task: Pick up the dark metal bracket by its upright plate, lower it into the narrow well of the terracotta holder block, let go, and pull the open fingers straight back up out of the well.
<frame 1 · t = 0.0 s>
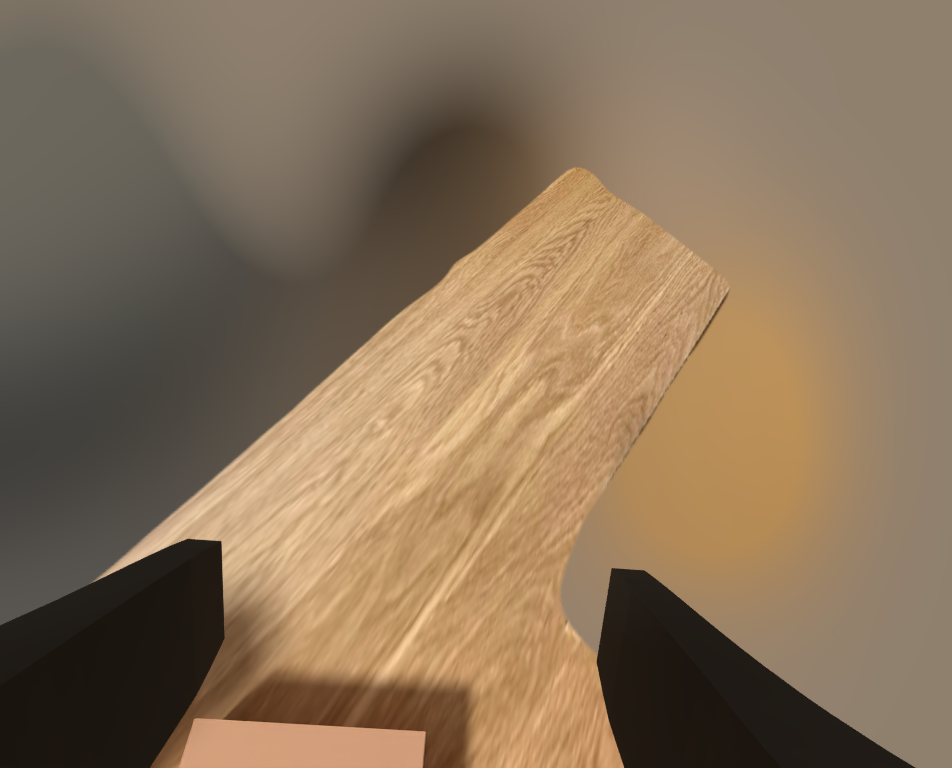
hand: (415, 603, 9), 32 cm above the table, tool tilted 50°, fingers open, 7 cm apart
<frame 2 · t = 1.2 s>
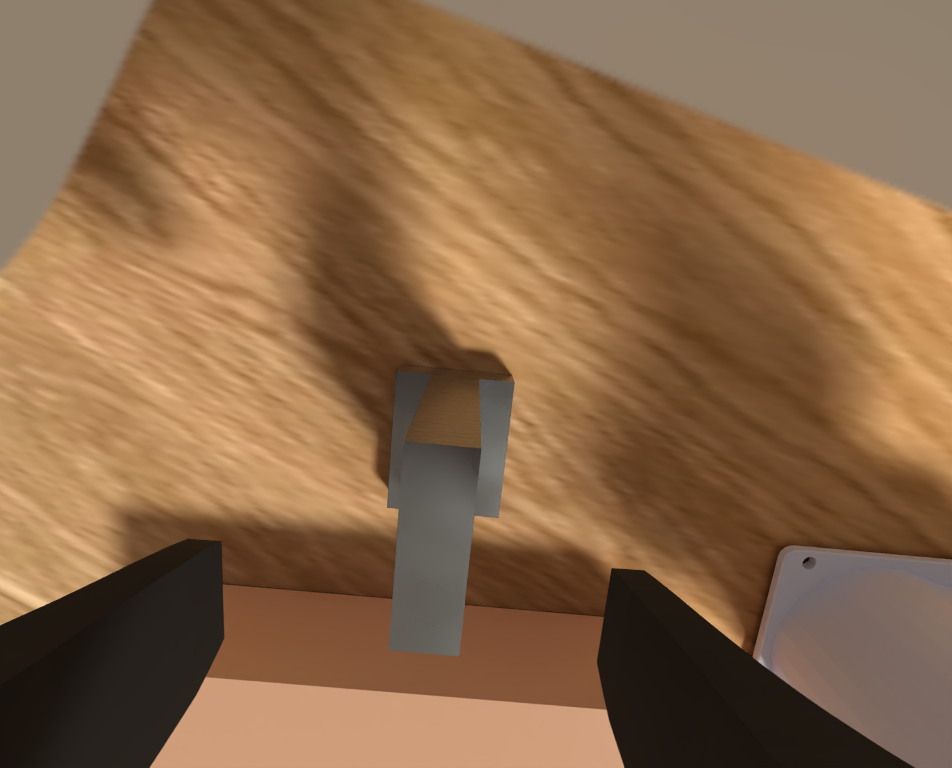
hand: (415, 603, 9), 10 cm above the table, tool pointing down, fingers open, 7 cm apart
bracket: (450, 435, 19), on the table
holder block: (410, 744, 22), on the table
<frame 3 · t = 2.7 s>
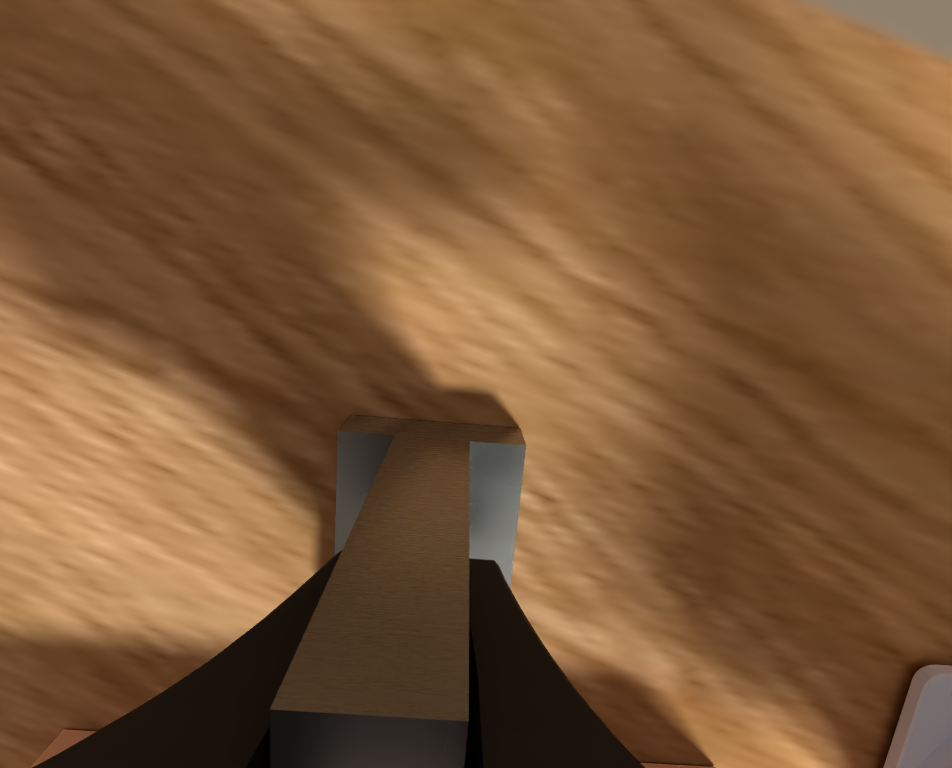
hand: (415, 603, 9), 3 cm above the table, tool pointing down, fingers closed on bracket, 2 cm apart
bracket: (429, 518, 12), on the table, touching gripper
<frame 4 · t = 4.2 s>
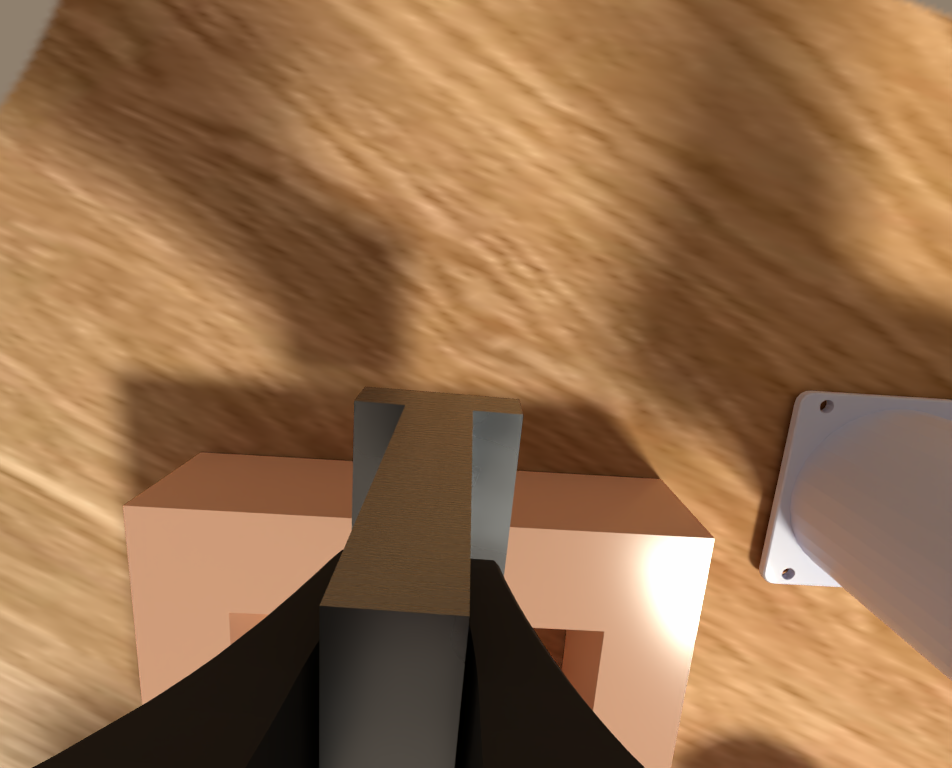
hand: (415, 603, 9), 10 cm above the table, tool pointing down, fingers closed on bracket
bracket: (436, 480, 14), point 6 cm above the table, touching gripper
holder block: (425, 621, 21), on the table
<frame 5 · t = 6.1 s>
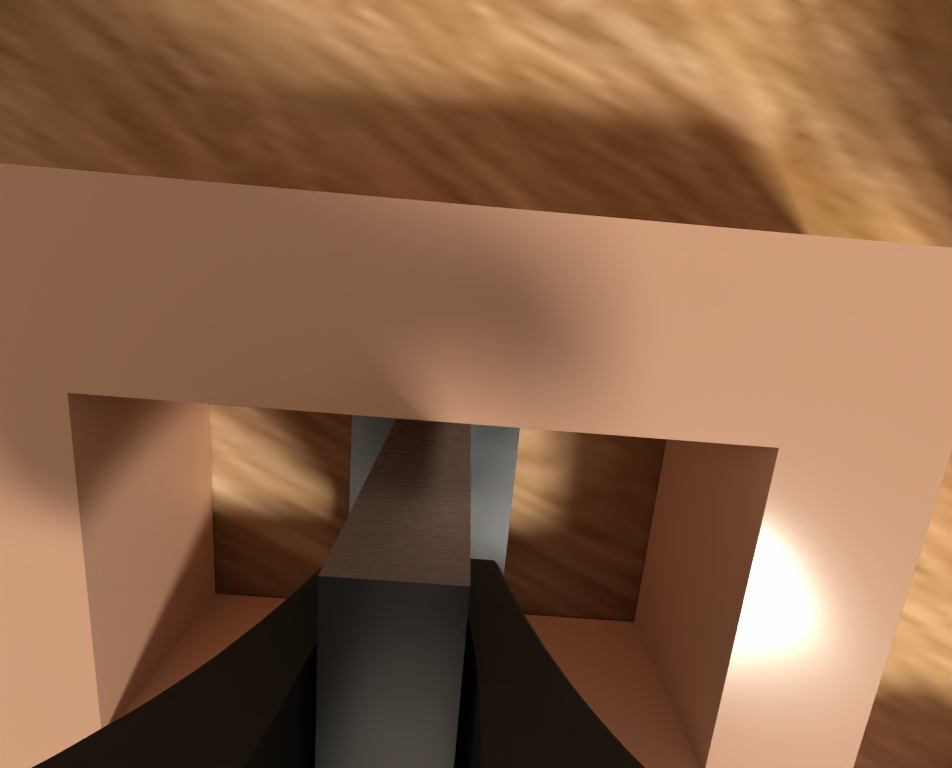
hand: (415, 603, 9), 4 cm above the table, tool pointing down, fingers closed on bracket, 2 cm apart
bracket: (434, 484, 14), resting in holder block, touching gripper
holder block: (435, 495, 14), on the table
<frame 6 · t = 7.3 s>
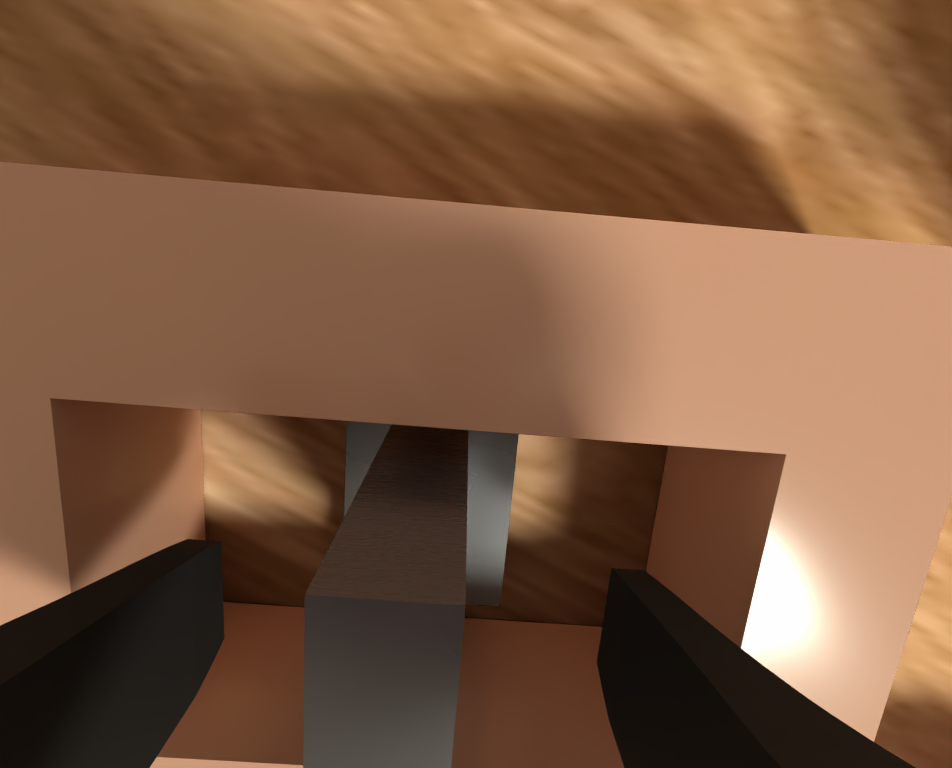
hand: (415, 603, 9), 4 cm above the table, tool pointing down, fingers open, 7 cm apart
bracket: (431, 489, 13), resting in holder block
holder block: (432, 500, 13), on the table
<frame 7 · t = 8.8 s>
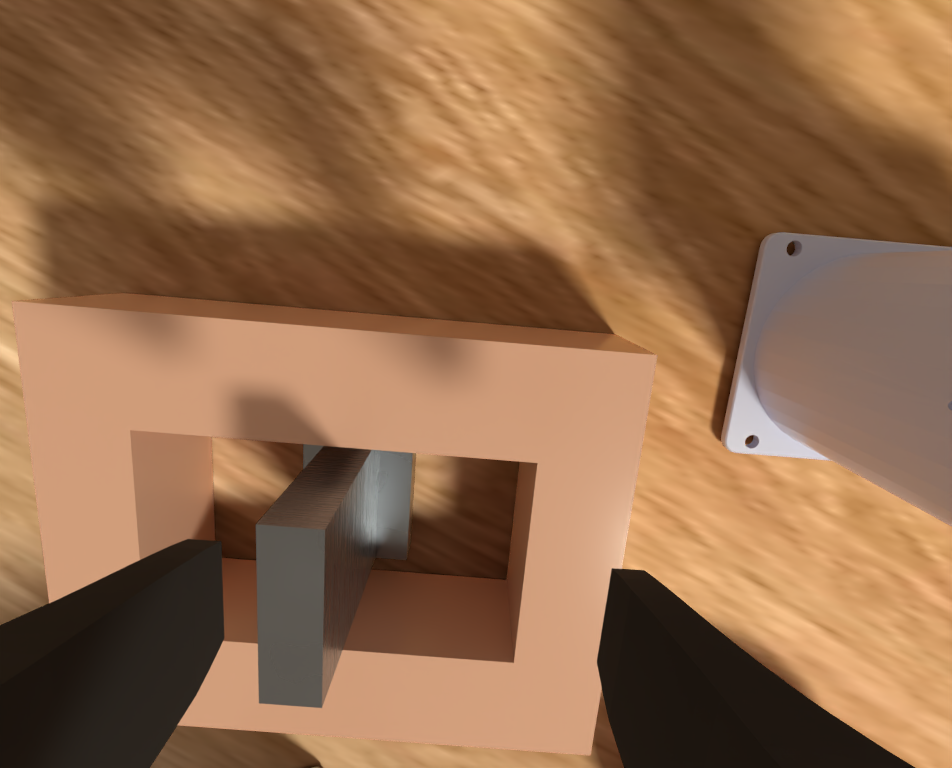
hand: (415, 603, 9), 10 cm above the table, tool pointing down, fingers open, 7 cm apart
bracket: (363, 482, 20), resting in holder block
holder block: (364, 490, 20), on the table
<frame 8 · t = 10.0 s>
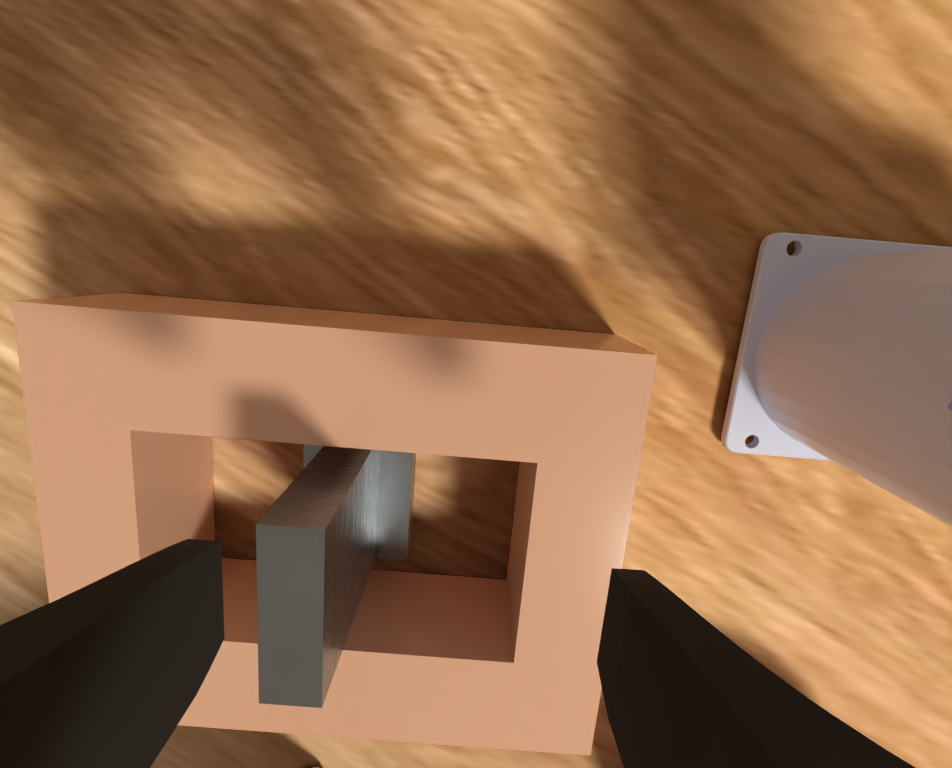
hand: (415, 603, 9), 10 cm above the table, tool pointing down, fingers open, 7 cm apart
bracket: (363, 482, 20), resting in holder block
holder block: (364, 490, 20), on the table
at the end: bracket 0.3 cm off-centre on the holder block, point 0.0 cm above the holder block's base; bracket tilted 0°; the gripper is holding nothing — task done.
